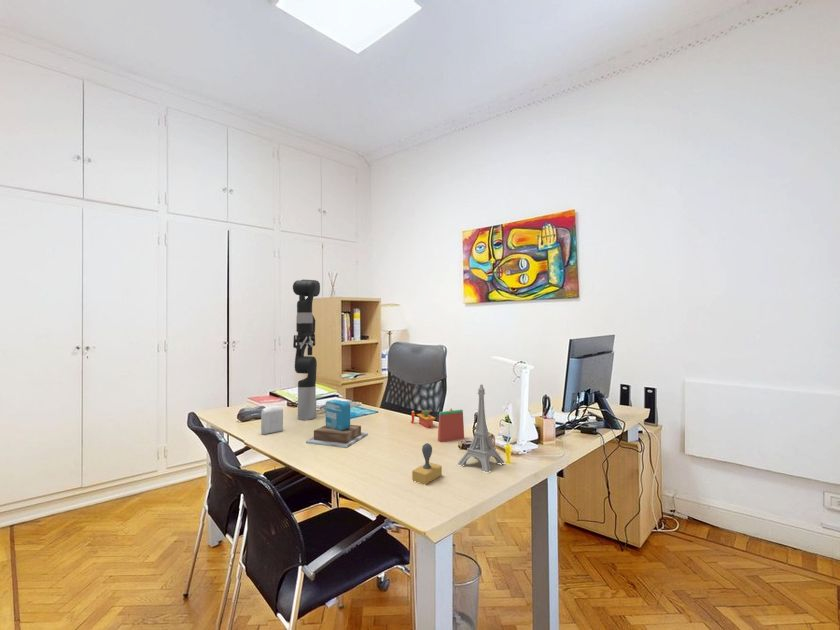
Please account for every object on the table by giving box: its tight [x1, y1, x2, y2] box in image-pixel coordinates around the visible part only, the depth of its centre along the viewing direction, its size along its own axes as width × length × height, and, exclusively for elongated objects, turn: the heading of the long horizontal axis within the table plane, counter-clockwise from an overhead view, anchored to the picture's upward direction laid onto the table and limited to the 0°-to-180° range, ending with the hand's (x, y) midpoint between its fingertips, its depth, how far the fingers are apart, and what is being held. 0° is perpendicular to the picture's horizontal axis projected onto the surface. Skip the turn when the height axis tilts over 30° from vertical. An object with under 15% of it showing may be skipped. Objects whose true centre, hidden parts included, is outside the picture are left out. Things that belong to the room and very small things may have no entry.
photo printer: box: [260, 405, 284, 435], centre depth 198 cm, size 10×4×12 cm, turn 134°
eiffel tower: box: [457, 384, 505, 472], centre depth 156 cm, size 13×13×30 cm
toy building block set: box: [410, 408, 465, 443], centre depth 201 cm, size 12×35×14 cm, turn 25°
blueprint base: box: [305, 424, 369, 449], centre depth 187 cm, size 20×20×5 cm
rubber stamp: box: [411, 442, 443, 485], centre depth 143 cm, size 10×6×12 cm, turn 144°
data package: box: [325, 399, 351, 431], centre depth 187 cm, size 12×4×12 cm, turn 51°
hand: (304, 356), depth 199 cm, fingers open, 8 cm apart
